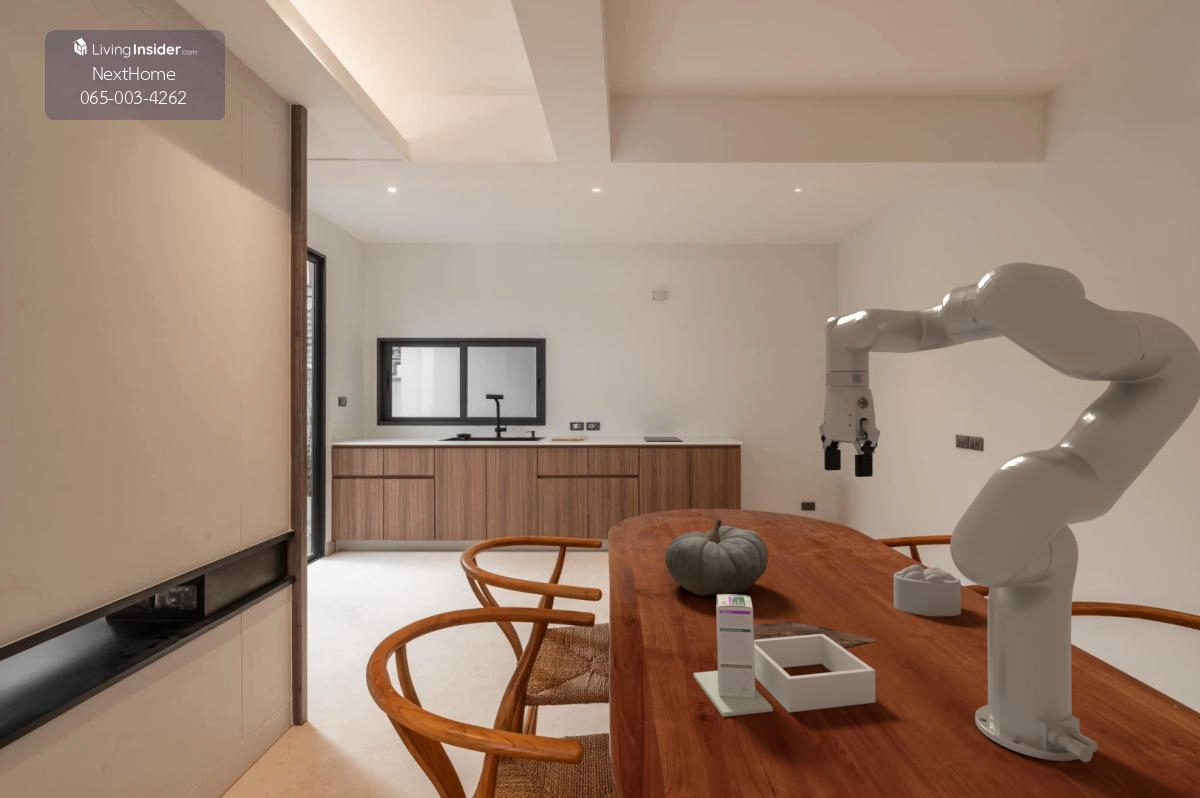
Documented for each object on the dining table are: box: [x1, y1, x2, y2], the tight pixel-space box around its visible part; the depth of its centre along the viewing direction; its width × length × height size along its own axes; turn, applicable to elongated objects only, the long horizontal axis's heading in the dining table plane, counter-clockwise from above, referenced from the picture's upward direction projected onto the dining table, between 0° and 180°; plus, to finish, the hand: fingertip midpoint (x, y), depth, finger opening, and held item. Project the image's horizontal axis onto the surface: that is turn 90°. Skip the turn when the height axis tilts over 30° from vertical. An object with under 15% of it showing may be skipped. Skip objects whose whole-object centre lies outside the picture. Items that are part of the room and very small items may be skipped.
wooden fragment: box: [753, 621, 877, 649], centre depth 118 cm, size 26×11×1 cm, turn 72°
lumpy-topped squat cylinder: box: [893, 564, 962, 617], centre depth 133 cm, size 10×13×9 cm
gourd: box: [664, 519, 769, 596], centre depth 147 cm, size 25×25×17 cm
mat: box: [692, 670, 774, 718], centre depth 95 cm, size 13×8×1 cm, turn 11°
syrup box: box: [715, 593, 756, 699], centre depth 95 cm, size 6×6×14 cm
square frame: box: [754, 634, 876, 713], centre depth 98 cm, size 15×15×5 cm
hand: (847, 473), depth 111 cm, fingers open, 9 cm apart
